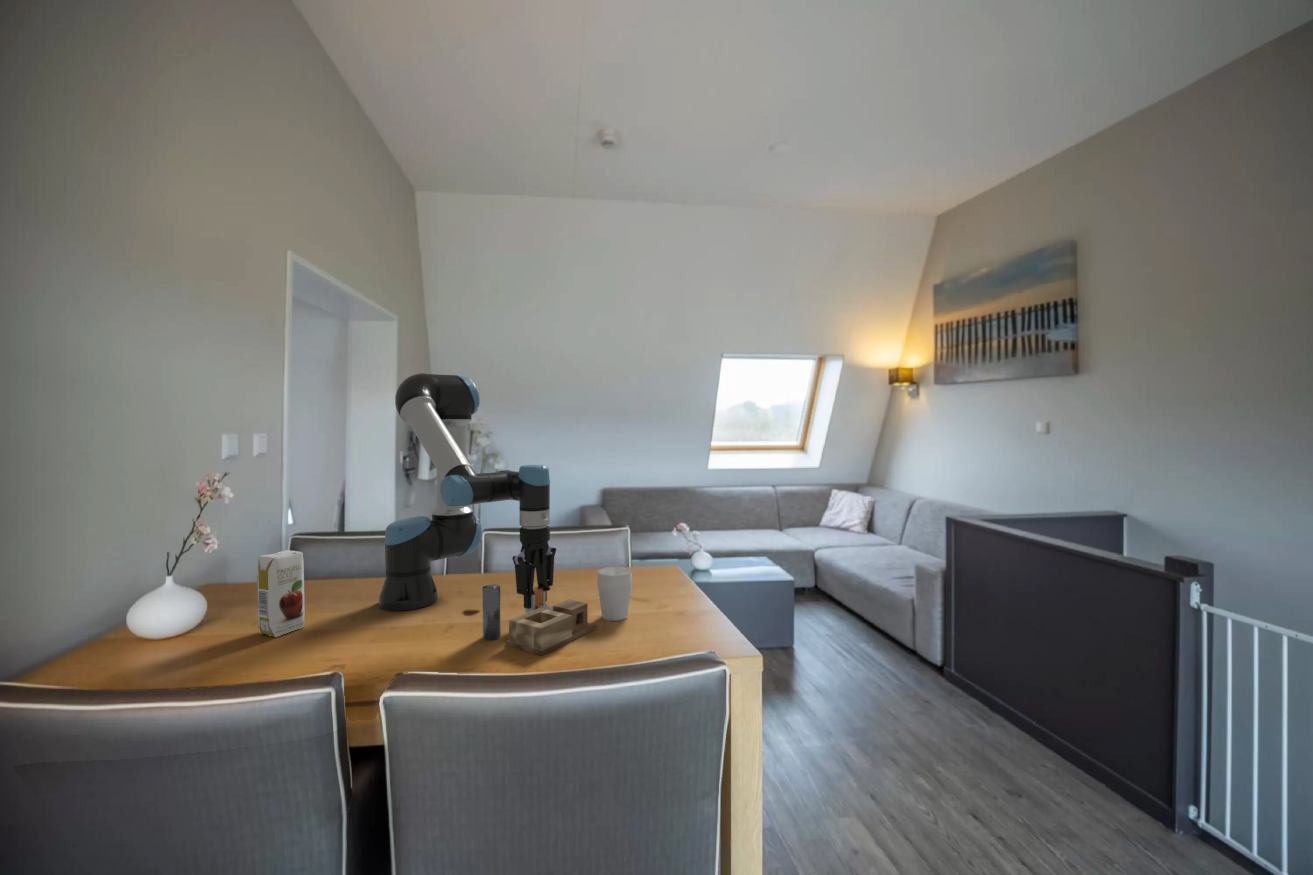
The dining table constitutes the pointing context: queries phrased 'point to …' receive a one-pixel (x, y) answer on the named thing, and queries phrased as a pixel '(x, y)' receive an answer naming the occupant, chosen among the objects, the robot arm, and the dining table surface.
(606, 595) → the cup
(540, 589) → the pin
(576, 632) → the dock
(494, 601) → the dark grey cylinder
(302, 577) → the juice carton
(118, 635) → the dining table surface
